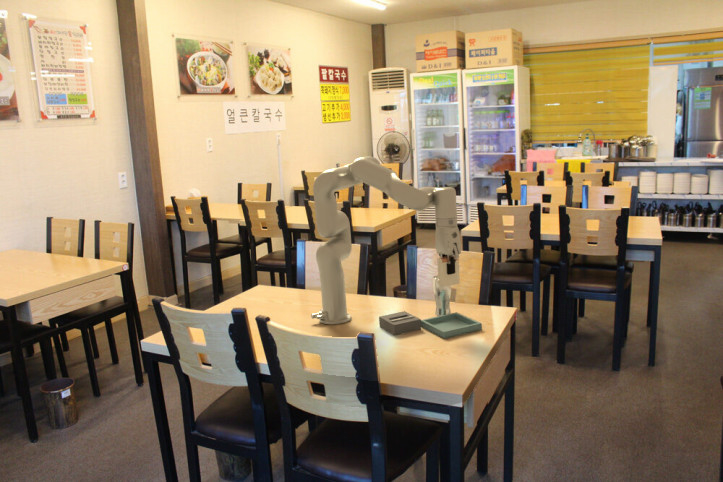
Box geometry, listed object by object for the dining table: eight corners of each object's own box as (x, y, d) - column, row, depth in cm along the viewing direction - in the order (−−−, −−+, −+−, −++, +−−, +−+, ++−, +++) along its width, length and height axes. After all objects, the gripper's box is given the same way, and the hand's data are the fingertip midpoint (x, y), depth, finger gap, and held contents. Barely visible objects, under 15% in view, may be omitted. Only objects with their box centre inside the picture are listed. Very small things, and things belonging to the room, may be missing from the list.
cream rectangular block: (443, 286, 216) (441, 259, 214) (438, 285, 219) (437, 258, 217) (459, 283, 219) (458, 256, 217) (454, 281, 221) (453, 255, 219)
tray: (444, 338, 211) (443, 332, 211) (420, 326, 226) (420, 320, 225) (481, 329, 218) (481, 323, 217) (456, 318, 232) (456, 312, 232)
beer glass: (451, 316, 235) (450, 279, 232) (433, 316, 236) (431, 279, 233) (452, 311, 241) (451, 274, 239) (434, 311, 243) (433, 274, 240)
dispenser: (394, 335, 218) (394, 323, 217) (379, 326, 229) (378, 315, 228) (421, 329, 222) (420, 317, 221) (405, 321, 233) (404, 309, 232)
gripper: (468, 223, 209) (470, 275, 212) (442, 218, 223) (445, 267, 227) (450, 226, 206) (452, 279, 209) (425, 221, 220) (427, 270, 224)
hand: (448, 272), depth 218 cm, fingers closed on cream rectangular block, 2 cm apart
